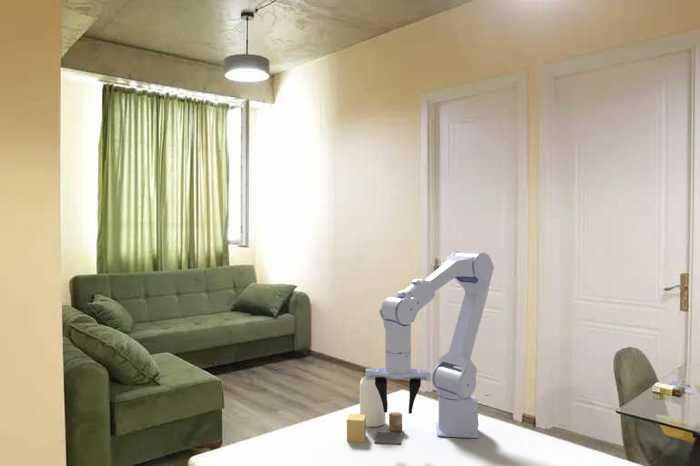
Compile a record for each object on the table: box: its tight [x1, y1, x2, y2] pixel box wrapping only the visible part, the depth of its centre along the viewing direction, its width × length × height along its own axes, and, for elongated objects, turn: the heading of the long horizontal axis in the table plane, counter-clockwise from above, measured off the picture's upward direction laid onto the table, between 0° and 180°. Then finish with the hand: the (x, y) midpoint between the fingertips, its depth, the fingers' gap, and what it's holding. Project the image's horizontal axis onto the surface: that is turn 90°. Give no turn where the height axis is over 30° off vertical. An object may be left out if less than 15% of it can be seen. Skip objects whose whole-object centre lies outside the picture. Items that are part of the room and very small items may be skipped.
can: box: [359, 373, 386, 428], centre depth 135 cm, size 6×6×12 cm
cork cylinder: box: [388, 411, 403, 434], centre depth 130 cm, size 3×3×4 cm
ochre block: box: [346, 413, 367, 443], centre depth 125 cm, size 4×4×5 cm
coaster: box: [374, 431, 402, 445], centre depth 125 cm, size 6×6×1 cm
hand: (398, 411), depth 119 cm, fingers open, 5 cm apart
